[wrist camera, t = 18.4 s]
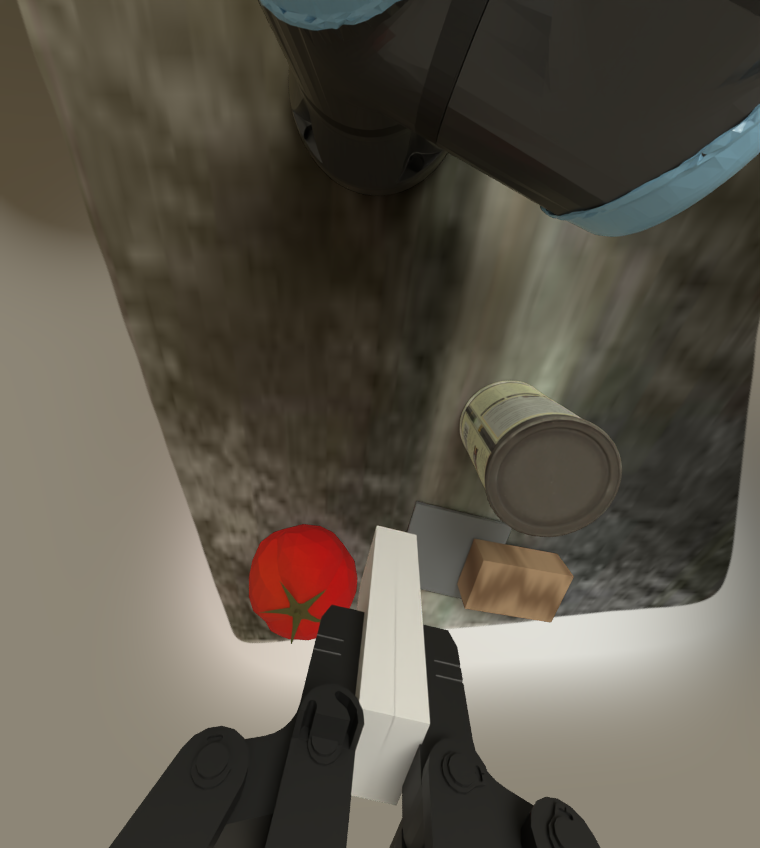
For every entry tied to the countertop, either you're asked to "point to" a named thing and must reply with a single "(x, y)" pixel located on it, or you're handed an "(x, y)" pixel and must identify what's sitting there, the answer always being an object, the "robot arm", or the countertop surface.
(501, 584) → the tan rectangular block
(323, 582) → the tomato
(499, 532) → the rubber mat
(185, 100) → the countertop surface
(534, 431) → the coffee can
